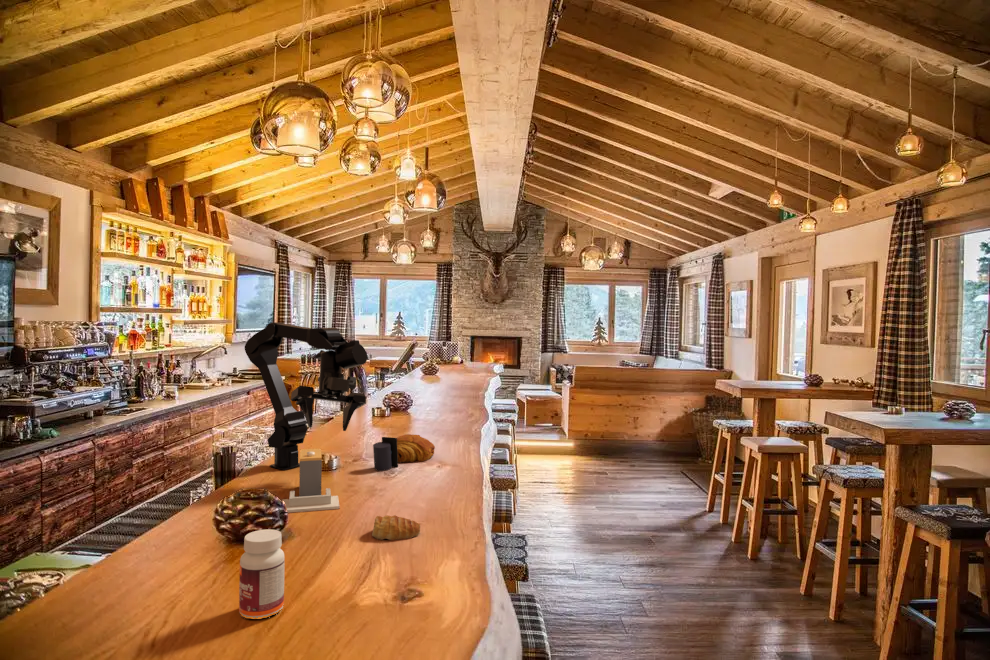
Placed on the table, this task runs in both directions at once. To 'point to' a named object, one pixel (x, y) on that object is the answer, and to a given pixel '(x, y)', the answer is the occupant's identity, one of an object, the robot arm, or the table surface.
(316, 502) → the bracket
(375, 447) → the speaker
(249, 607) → the pill bottle
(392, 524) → the pastry
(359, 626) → the table surface
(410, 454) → the croissant
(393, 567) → the table surface
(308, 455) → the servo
